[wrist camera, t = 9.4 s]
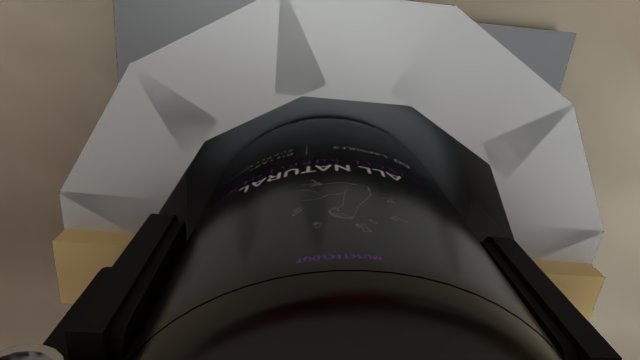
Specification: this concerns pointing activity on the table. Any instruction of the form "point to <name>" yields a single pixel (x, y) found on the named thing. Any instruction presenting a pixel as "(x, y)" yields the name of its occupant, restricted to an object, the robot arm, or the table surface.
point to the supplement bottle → (335, 263)
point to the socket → (340, 103)
